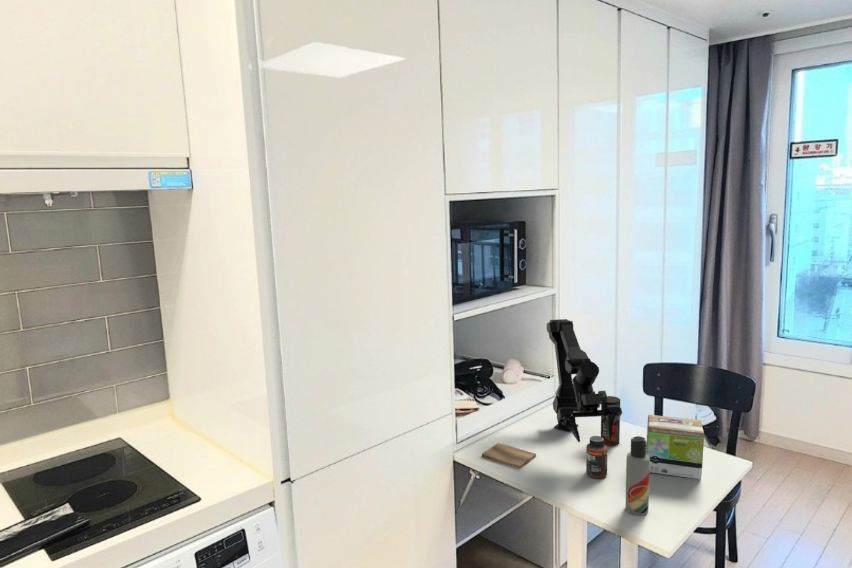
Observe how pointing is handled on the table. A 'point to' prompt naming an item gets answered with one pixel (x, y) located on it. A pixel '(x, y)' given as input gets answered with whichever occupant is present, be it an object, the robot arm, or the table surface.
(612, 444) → the deodorant
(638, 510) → the lotion bottle
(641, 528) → the table surface
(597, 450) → the supplement bottle
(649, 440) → the tea box
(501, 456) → the walnut board
